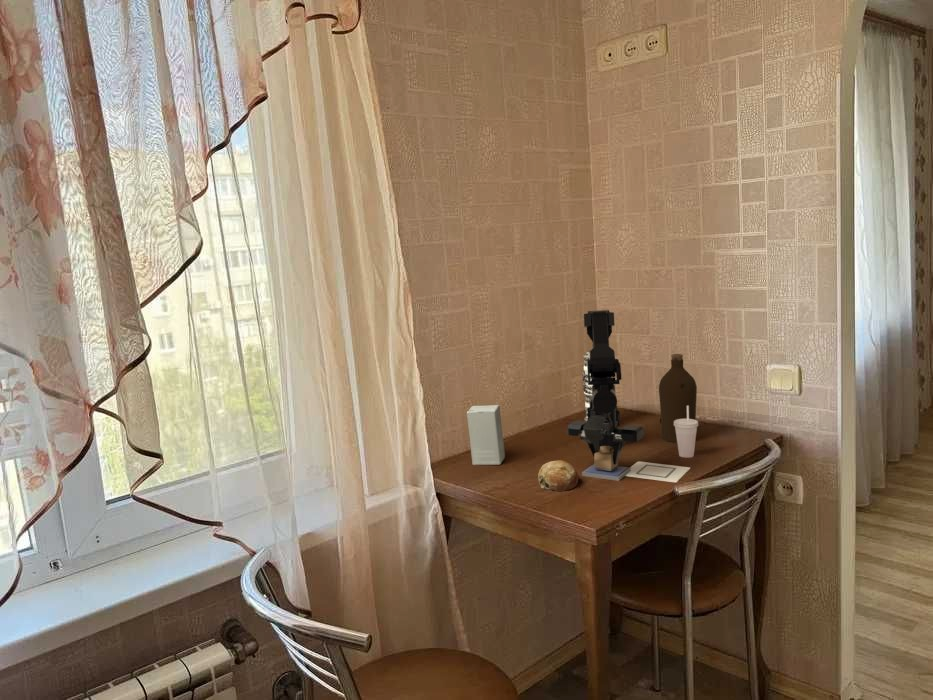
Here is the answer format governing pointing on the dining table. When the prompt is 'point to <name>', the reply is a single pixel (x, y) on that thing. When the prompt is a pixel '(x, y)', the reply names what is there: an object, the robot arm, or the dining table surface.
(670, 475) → the sheet
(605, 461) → the stamp
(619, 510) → the dining table surface
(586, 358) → the decorative candle
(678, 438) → the smoothie
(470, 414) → the skincare box
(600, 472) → the ink pad
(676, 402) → the olive oil
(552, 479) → the bread roll
